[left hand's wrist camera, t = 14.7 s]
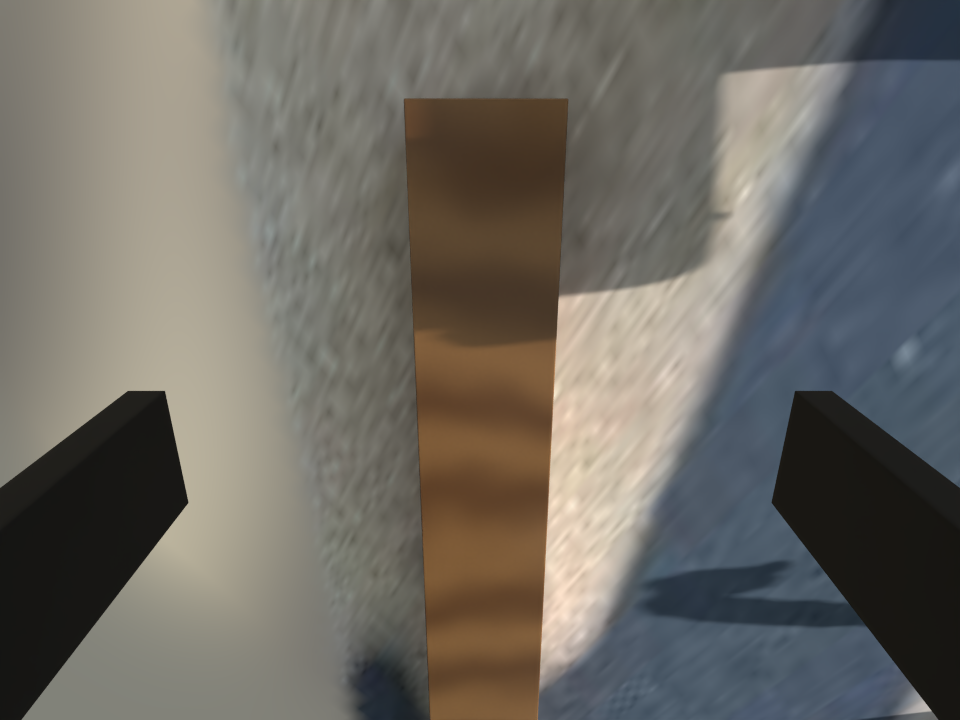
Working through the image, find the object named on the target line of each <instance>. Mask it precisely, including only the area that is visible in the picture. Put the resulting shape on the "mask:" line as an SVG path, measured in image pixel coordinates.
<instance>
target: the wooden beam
mask: <svg viewBox="0 0 960 720" xmlns="http://www.w3.org/2000/svg"><path fill="white" fill-rule="evenodd" d="M404 115H405V138H406V162H407V186H408V210H409V233H410V257H411V281H412V305H413V328H414V352H415V376H416V400H417V423H418V447H419V471H420V494H421V518H422V542H423V566H424V589H425V613H426V637H427V661H428V684H429V708H430V720H537V718H538V698H539V678H540V658H541V638H542V618H543V598H544V578H545V558H546V537H547V517H548V497H549V477H550V457H551V437H552V417H553V397H554V377H555V357H556V336H557V316H558V296H559V276H560V256H561V236H562V216H563V196H564V176H565V155H566V135H567V115H568V99H404Z"/></svg>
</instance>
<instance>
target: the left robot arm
mask: <svg viewBox="0 0 960 720" xmlns="http://www.w3.org/2000/svg"><path fill="white" fill-rule="evenodd" d="M187 504H188V499H187V494H186V489H185V484H184V480H183V475H182V470H181V465H180V461H179V456H178V451H177V446H176V442H175V437H174V432H173V427H172V423H171V418H170V413H169V408H168V404H167V399H166V394H165V391H127V392H126V393H125V394H124V395H122V396H121V397H120V398H118V399H117V400H116V401H114V402H113V403H112V404H110V405H109V406H108V407H106V408H105V409H104V410H103V411H101V412H100V413H99V414H97V415H96V416H95V417H93V418H92V419H91V420H89V421H88V422H87V423H85V424H84V425H83V426H81V427H80V428H79V429H77V430H76V431H75V432H73V433H72V434H71V435H70V436H68V437H67V438H66V439H64V440H63V441H62V442H60V443H59V444H58V445H56V446H55V447H54V448H52V449H51V450H50V451H48V452H47V453H46V454H45V455H43V456H42V457H41V458H39V459H38V460H37V461H35V462H34V463H33V464H31V465H30V466H29V467H27V468H26V469H25V470H23V471H22V472H21V473H19V474H18V475H17V476H15V477H14V478H13V479H12V480H10V481H9V482H8V483H6V484H5V485H4V486H2V487H1V488H0V720H22V718H23V717H24V716H25V714H26V713H27V712H28V710H29V709H30V708H31V707H32V705H33V704H34V703H35V701H36V700H37V699H38V697H39V696H40V695H41V694H42V692H43V691H44V690H45V688H46V687H47V686H48V684H49V683H50V682H51V681H52V679H53V678H54V677H55V675H56V674H57V673H58V671H59V670H60V669H61V668H62V666H63V665H64V664H65V662H66V661H67V660H68V658H69V657H70V656H71V655H72V653H73V652H74V651H75V649H76V648H77V647H78V645H79V644H80V643H81V642H82V640H83V639H84V638H85V636H86V635H87V634H88V632H89V631H90V630H91V628H92V627H93V626H94V625H95V623H96V622H97V621H98V620H99V618H100V617H101V616H102V614H103V613H104V612H105V610H106V609H107V608H108V606H109V605H110V604H111V603H112V601H113V600H114V599H115V597H116V596H117V595H118V594H119V592H120V591H121V590H122V588H123V587H124V586H125V584H126V583H127V582H128V580H129V579H130V578H131V577H132V575H133V574H134V573H135V571H136V570H137V569H138V568H139V566H140V565H141V564H142V562H143V561H144V560H145V558H146V557H147V556H148V555H149V553H150V552H151V551H152V549H153V548H154V547H155V545H156V544H157V543H158V542H159V540H160V539H161V538H162V536H163V535H164V534H165V532H166V531H167V530H168V529H169V527H170V526H171V525H172V523H173V522H174V521H175V519H176V518H177V517H178V516H179V514H180V513H181V512H182V510H183V509H184V508H185V506H186V505H187ZM772 504H773V505H774V506H775V508H776V509H777V510H778V512H779V513H780V514H781V516H782V517H783V518H784V519H785V521H786V522H787V523H788V525H789V526H790V527H791V529H792V530H793V531H794V532H795V534H796V535H797V536H798V538H799V539H800V540H801V542H802V543H803V544H804V545H805V547H806V548H807V549H808V551H809V552H810V553H811V555H812V556H813V557H814V558H815V560H816V561H817V562H818V564H819V565H820V566H821V568H822V569H823V570H824V571H825V573H826V574H827V575H828V577H829V578H830V579H831V581H832V582H833V583H834V584H835V586H836V587H837V588H838V590H839V591H840V592H841V594H842V595H843V596H844V597H845V599H846V600H847V601H848V603H849V604H850V605H851V607H852V608H853V609H854V610H855V612H856V613H857V614H858V616H859V617H860V618H861V620H862V621H863V622H864V623H865V625H866V626H867V627H868V629H869V630H870V631H871V632H872V634H873V635H874V636H875V638H876V639H877V640H878V642H879V643H880V644H881V645H882V647H883V648H884V649H885V651H886V652H887V653H888V655H889V656H890V657H891V658H892V660H893V661H894V662H895V664H896V665H897V666H898V668H899V669H900V670H901V671H902V673H903V674H904V675H905V677H906V678H907V679H908V681H909V682H910V683H911V684H912V686H913V687H914V688H915V690H916V691H917V692H918V694H919V695H920V696H921V697H922V699H923V700H924V701H925V703H926V704H927V705H928V707H929V708H930V709H931V710H932V712H933V713H934V714H935V716H936V717H937V718H938V720H960V488H959V487H958V486H956V485H955V484H954V483H952V482H951V481H950V480H948V479H947V478H946V477H945V476H943V475H942V474H941V473H939V472H938V471H937V470H935V469H934V468H933V467H931V466H930V465H929V464H927V463H926V462H925V461H923V460H922V459H921V458H919V457H918V456H917V455H916V454H914V453H913V452H912V451H910V450H909V449H908V448H906V447H905V446H904V445H902V444H901V443H900V442H898V441H897V440H896V439H894V438H893V437H892V436H890V435H889V434H888V433H887V432H885V431H884V430H883V429H881V428H880V427H879V426H877V425H876V424H875V423H873V422H872V421H871V420H869V419H868V418H867V417H865V416H864V415H863V414H862V413H860V412H859V411H858V410H856V409H855V408H854V407H852V406H851V405H850V404H848V403H847V402H846V401H844V400H843V399H842V398H840V397H839V396H838V395H836V394H835V393H834V392H833V391H795V394H794V399H793V404H792V408H791V413H790V418H789V423H788V427H787V432H786V437H785V442H784V446H783V451H782V456H781V461H780V465H779V470H778V475H777V480H776V484H775V489H774V494H773V499H772Z"/></svg>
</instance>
